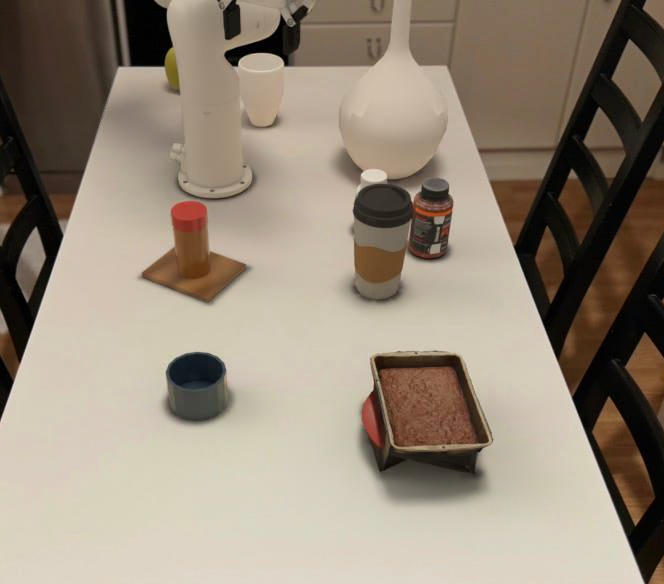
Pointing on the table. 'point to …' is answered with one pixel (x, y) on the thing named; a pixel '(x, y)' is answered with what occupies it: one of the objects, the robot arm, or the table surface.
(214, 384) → the cup
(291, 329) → the table surface
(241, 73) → the mug
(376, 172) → the pill bottle
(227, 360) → the table surface
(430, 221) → the supplement bottle
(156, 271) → the wooden board
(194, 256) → the jar
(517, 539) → the table surface
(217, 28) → the robot arm
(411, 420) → the baking dish
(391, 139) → the vase
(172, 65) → the apple
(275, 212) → the table surface
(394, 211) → the coffee cup
